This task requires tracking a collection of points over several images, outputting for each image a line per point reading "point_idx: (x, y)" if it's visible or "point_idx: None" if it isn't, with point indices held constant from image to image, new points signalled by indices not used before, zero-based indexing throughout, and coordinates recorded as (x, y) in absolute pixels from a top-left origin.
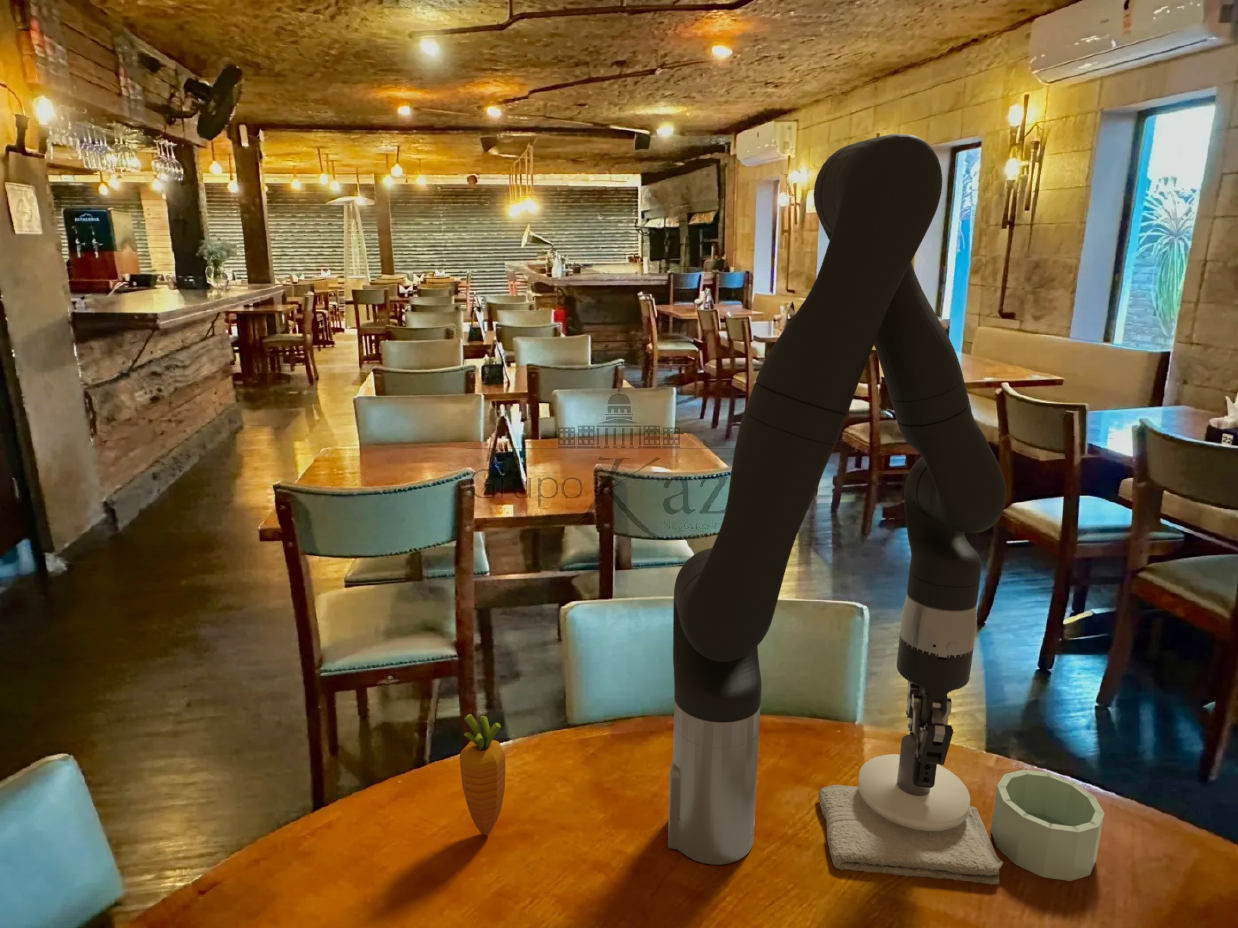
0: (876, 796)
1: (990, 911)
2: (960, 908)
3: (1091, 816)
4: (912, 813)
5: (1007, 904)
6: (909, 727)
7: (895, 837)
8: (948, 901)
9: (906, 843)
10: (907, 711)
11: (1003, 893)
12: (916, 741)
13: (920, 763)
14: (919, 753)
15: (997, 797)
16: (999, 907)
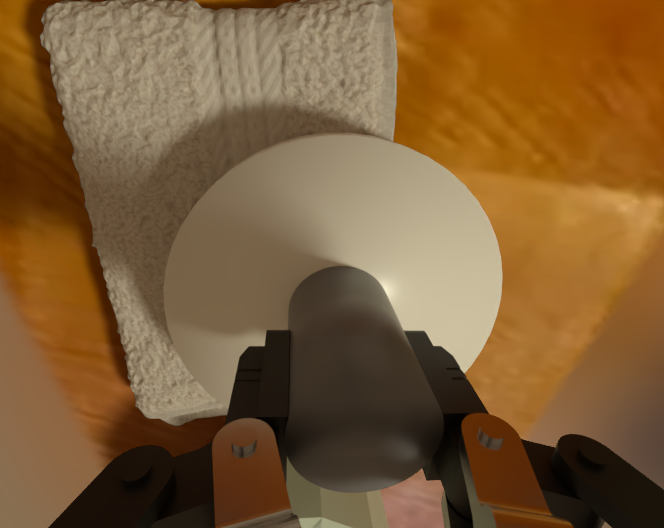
0: (253, 186)
1: (67, 367)
2: (49, 317)
3: None
4: (194, 288)
5: (102, 397)
6: (480, 430)
7: (167, 218)
8: (61, 298)
9: (146, 244)
10: (593, 466)
11: (131, 396)
12: (268, 483)
13: (240, 412)
14: (150, 481)
15: (305, 491)
16: (87, 383)
